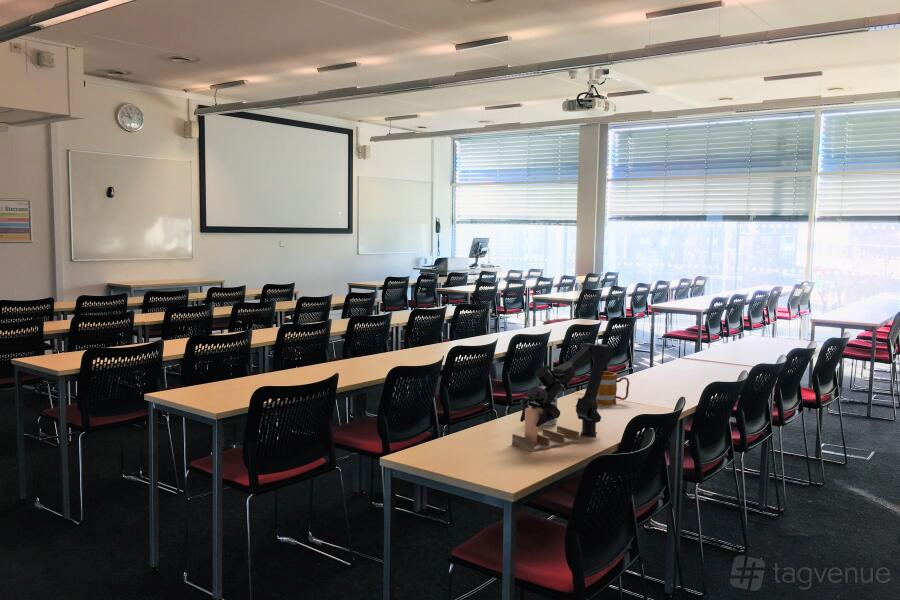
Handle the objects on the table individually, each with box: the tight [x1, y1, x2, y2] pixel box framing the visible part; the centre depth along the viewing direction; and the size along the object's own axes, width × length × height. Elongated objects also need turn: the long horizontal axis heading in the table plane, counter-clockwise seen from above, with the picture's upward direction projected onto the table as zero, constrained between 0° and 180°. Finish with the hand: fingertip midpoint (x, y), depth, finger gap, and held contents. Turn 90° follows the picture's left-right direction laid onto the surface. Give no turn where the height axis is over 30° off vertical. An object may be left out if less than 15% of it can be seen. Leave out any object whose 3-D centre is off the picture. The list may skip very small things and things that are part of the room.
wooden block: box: [523, 408, 539, 445], centre depth 293 cm, size 5×5×14 cm
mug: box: [596, 370, 630, 406], centre depth 374 cm, size 20×14×15 cm
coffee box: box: [535, 385, 559, 426], centre depth 331 cm, size 9×6×16 cm
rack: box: [511, 425, 580, 452], centre depth 298 cm, size 26×12×4 cm, turn 126°
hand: (528, 423), depth 292 cm, fingers open, 9 cm apart
